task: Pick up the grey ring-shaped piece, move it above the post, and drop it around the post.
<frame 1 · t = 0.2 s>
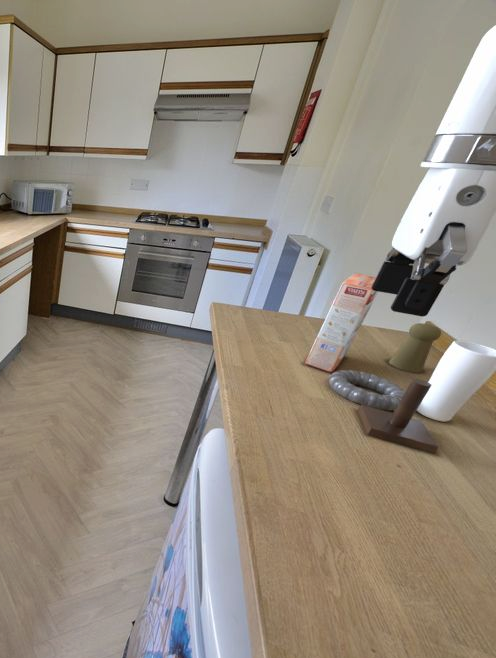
hand: (395, 301, 52), 29 cm above the countertop, tool pointing down, fingers open, 9 cm apart
grey ring-shaped piece: (367, 389, 86), point 1 cm above the countertop
post: (392, 430, 76), on the countertop
cork: (404, 367, 100), on the countertop
cracker box: (325, 361, 101), on the countertop
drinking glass: (430, 415, 81), on the countertop
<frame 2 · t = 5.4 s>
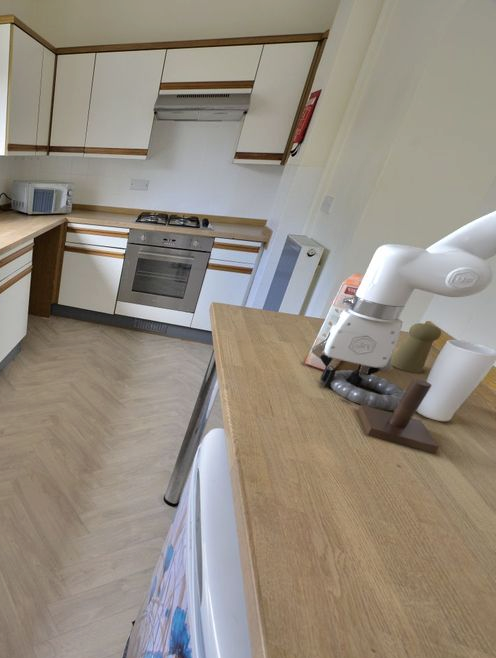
hand: (336, 386, 89), 0 cm above the countertop, tool pointing down, fingers closed on grey ring-shaped piece, 3 cm apart
grey ring-shaped piece: (367, 389, 86), point 2 cm above the countertop, touching gripper
everything else where it was.
when the fingers open (9 cm above the countertop, at t = 11.7 s): grey ring-shaped piece drops 7 cm, resting on post.
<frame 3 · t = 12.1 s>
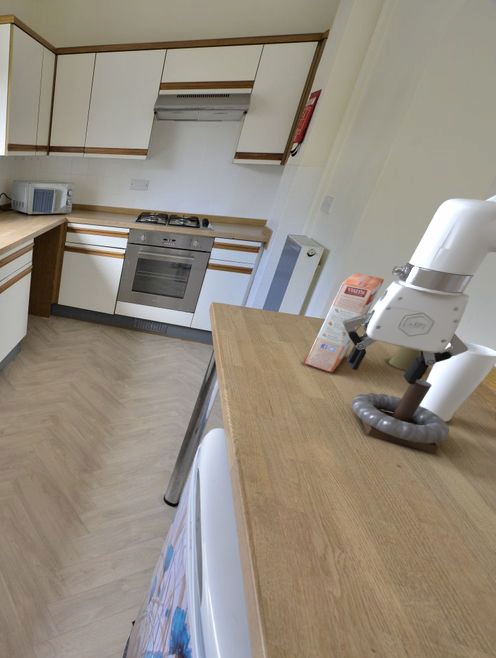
hand: (379, 373, 74), 10 cm above the countertop, tool pointing down, fingers open, 7 cm apart
grey ring-shaped piece: (397, 416, 75), point 3 cm above the countertop, touching post
everything else where it was.
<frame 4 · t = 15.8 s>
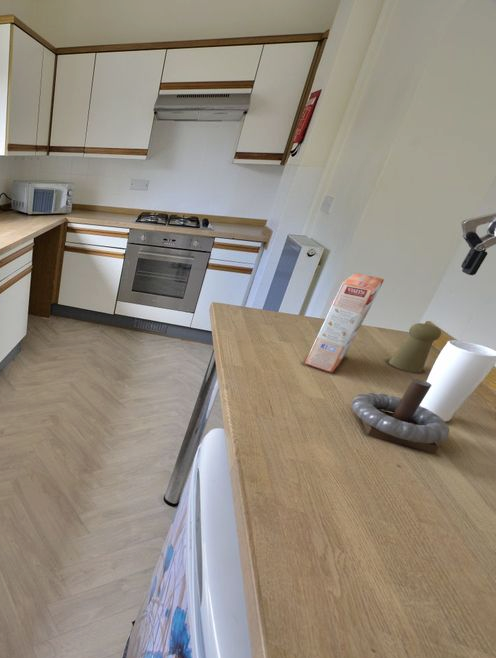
nothing on the countertop moved.
at the end: grey ring-shaped piece 0.4 cm from the post (horizontally); grey ring-shaped piece point 3.0 cm above the countertop; the gripper is holding nothing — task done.
